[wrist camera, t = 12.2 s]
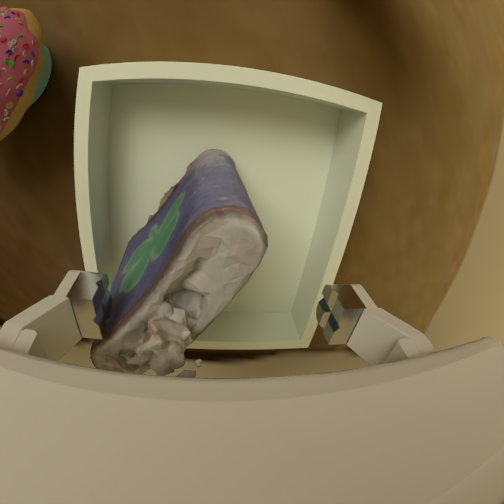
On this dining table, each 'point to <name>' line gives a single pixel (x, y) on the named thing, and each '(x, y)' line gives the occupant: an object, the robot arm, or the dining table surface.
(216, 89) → the serving bin
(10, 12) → the cupcake
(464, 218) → the dining table surface
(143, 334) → the flask
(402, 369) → the robot arm
